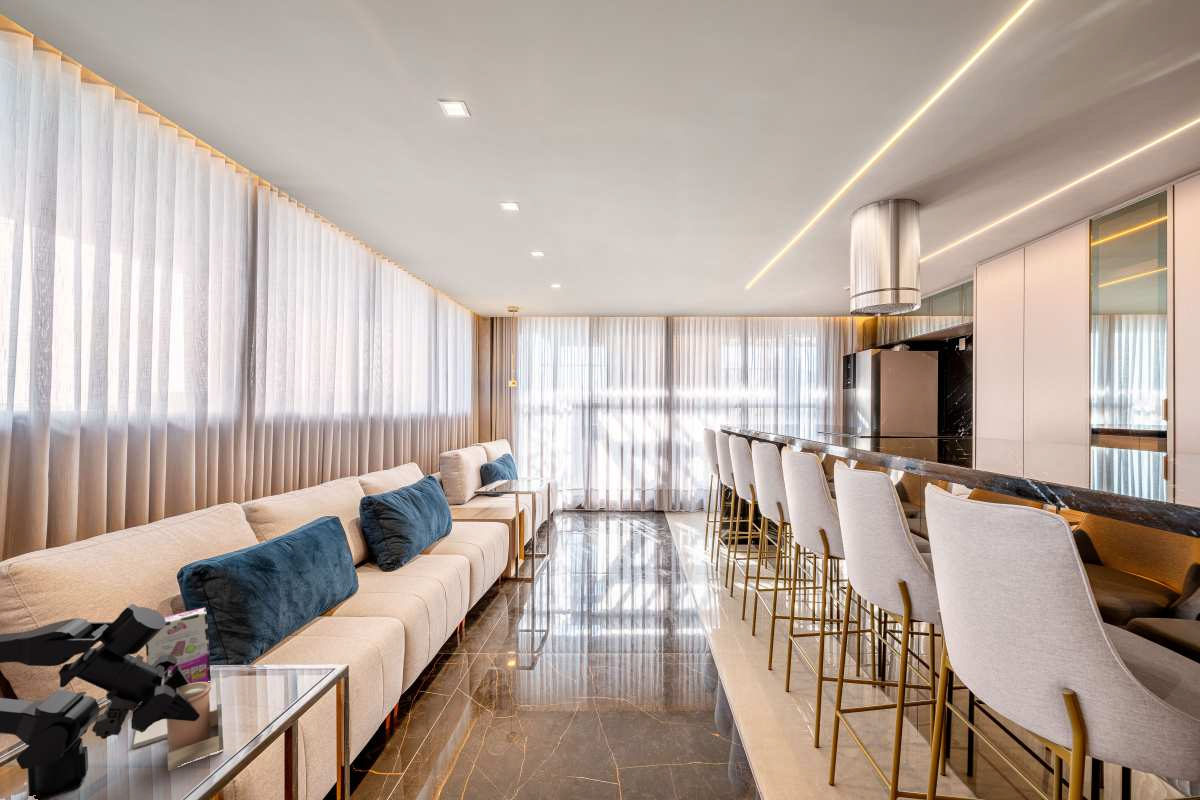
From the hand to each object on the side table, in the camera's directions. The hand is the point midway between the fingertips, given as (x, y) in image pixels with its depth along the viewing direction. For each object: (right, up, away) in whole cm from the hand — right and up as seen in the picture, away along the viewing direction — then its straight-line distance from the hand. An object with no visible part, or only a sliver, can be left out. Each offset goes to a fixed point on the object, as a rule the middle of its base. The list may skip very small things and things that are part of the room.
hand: (197, 709), depth 101 cm
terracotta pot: (-1, -7, -1) cm, 7 cm away
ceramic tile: (-11, -7, +6) cm, 14 cm away
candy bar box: (-19, -7, +20) cm, 29 cm away
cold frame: (-1, -7, -1) cm, 7 cm away
